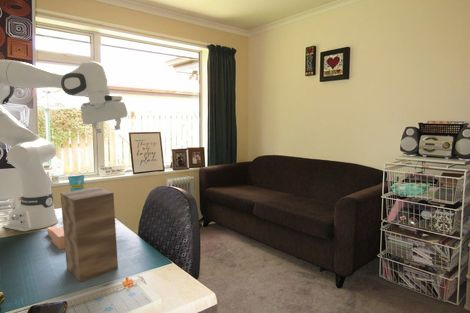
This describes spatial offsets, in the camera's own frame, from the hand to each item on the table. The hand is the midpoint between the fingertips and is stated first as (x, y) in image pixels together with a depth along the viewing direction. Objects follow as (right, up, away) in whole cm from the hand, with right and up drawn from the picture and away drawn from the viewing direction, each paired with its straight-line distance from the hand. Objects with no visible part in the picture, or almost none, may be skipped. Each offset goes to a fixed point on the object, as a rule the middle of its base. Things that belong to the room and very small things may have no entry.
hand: (108, 131), depth 135 cm
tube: (-27, -40, +29) cm, 56 cm away
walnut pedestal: (+7, -48, -31) cm, 58 cm away
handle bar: (-17, -45, -8) cm, 49 cm away
